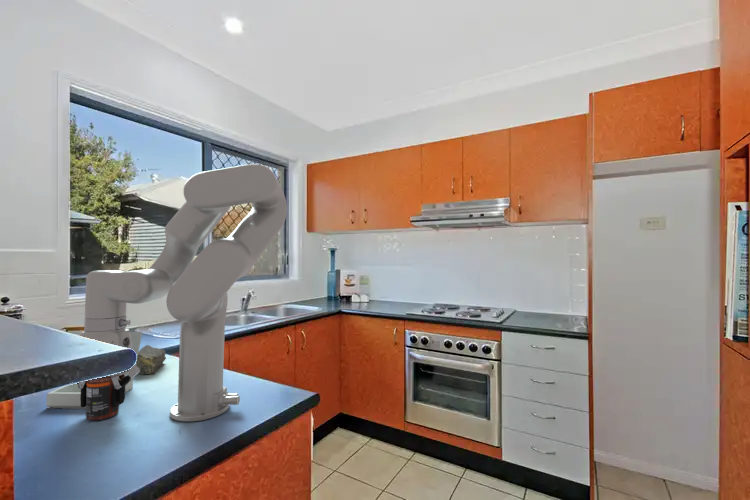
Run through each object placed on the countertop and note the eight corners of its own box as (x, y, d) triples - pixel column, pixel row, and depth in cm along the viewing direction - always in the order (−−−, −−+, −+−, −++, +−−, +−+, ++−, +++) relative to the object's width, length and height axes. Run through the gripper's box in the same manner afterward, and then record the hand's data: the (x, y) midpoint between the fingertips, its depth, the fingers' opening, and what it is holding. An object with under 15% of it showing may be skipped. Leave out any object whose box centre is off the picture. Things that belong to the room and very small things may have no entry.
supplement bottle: (117, 408, 85) (119, 360, 85) (120, 416, 80) (121, 366, 81) (85, 414, 81) (86, 364, 81) (85, 424, 77) (87, 371, 77)
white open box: (140, 383, 101) (142, 331, 102) (95, 408, 84) (97, 346, 85) (99, 383, 101) (101, 331, 101) (46, 408, 84) (48, 345, 85)
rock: (172, 358, 111) (135, 354, 106) (165, 380, 110) (127, 377, 105) (168, 345, 126) (135, 340, 120) (161, 364, 125) (128, 361, 119)
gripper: (153, 322, 85) (151, 398, 85) (80, 321, 85) (77, 398, 84) (133, 328, 78) (130, 412, 77) (52, 327, 77) (48, 411, 77)
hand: (102, 404), depth 81 cm, fingers closed on supplement bottle, 6 cm apart
